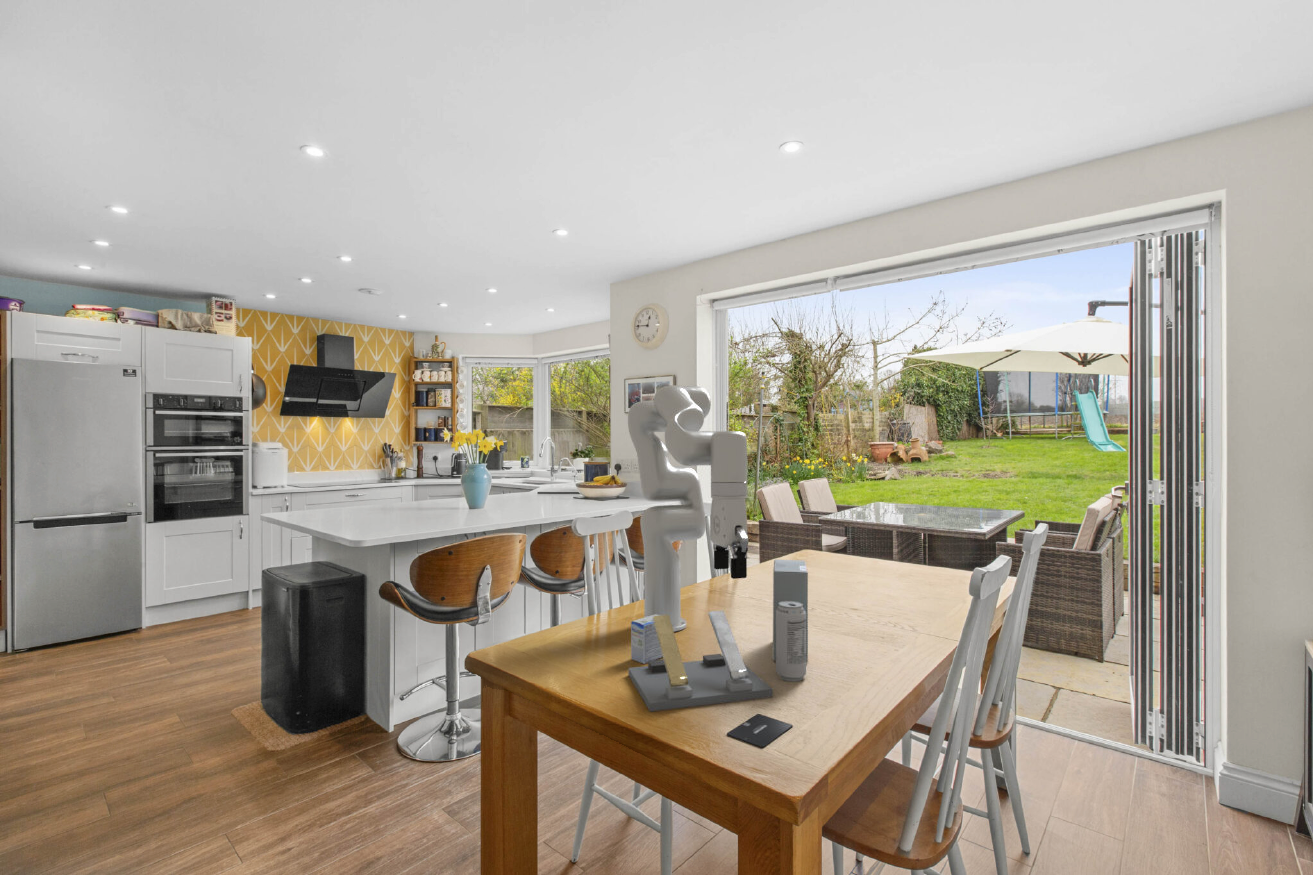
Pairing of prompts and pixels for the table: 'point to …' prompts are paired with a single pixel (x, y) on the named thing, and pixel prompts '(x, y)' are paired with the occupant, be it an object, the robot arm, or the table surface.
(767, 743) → the solid state drive
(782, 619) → the energy drink can
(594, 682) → the table surface
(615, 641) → the table surface
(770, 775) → the table surface
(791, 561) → the hard drive box
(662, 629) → the brass strap
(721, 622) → the steel strap
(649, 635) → the medicine box
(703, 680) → the board
